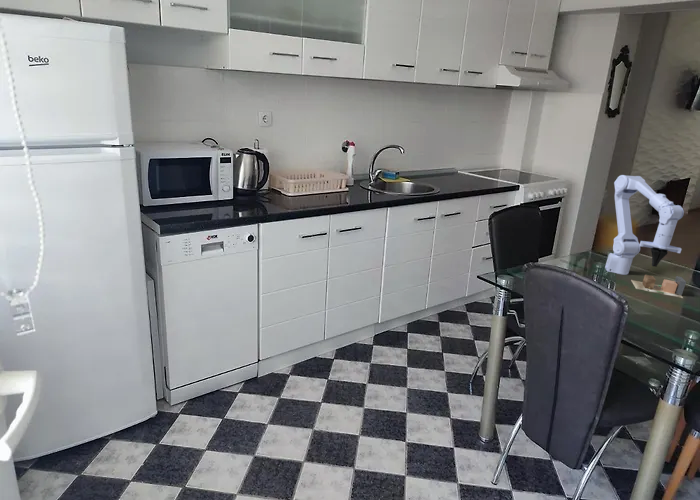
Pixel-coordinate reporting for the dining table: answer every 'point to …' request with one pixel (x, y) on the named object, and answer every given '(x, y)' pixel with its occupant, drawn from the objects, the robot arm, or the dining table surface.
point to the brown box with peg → (649, 281)
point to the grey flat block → (680, 285)
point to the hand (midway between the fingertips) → (654, 265)
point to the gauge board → (656, 289)
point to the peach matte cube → (669, 286)
